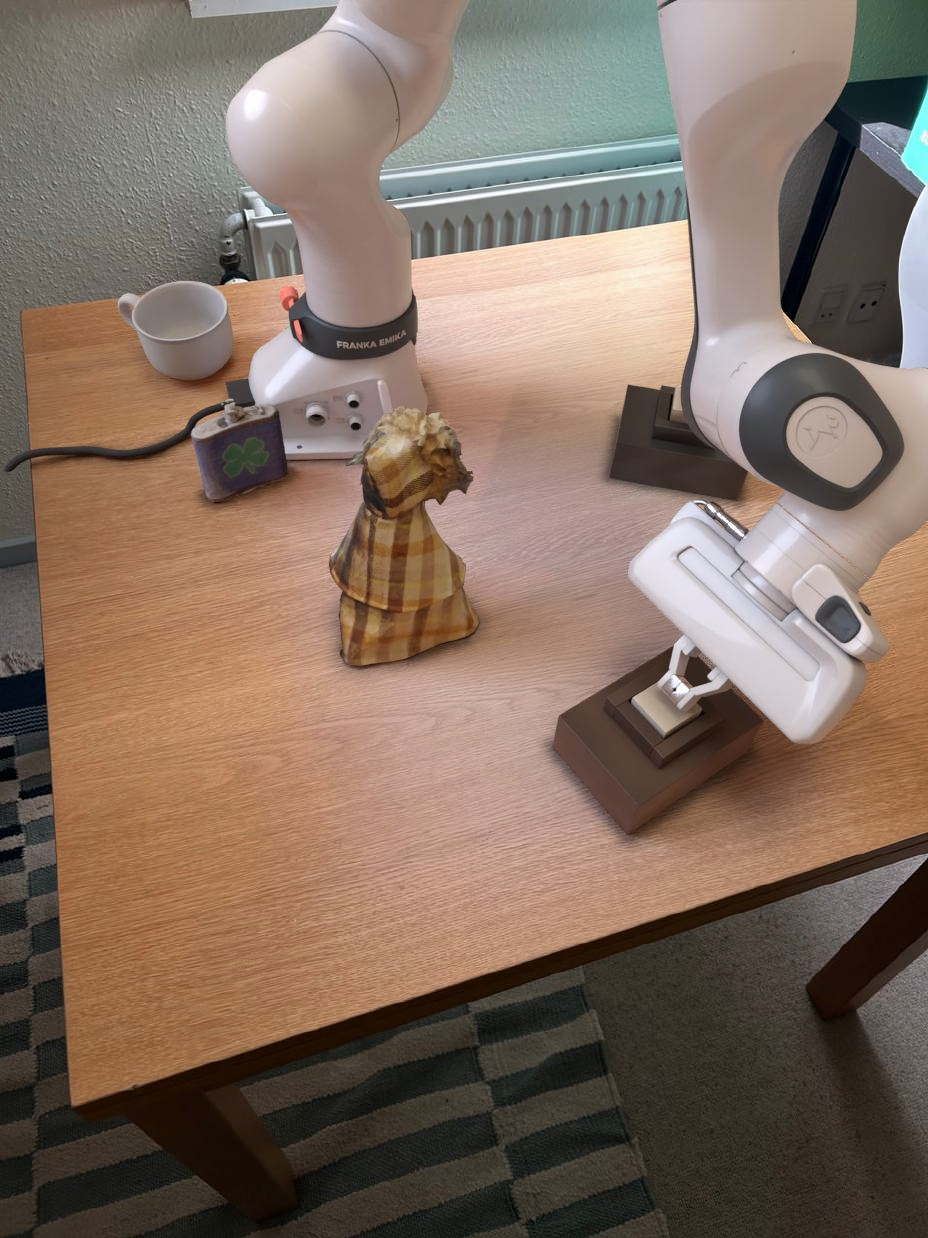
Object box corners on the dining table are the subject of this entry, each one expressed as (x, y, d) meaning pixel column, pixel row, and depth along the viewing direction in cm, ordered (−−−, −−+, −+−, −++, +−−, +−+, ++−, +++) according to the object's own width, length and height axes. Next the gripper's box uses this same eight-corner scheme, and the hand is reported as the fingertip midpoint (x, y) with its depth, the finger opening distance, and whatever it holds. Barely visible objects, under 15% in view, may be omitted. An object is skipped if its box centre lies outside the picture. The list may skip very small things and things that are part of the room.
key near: (661, 744, 74) (665, 732, 72) (628, 708, 76) (632, 697, 74) (697, 720, 75) (702, 708, 74) (664, 686, 77) (668, 674, 76)
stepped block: (608, 478, 101) (619, 428, 95) (620, 420, 107) (630, 370, 101) (737, 501, 99) (755, 452, 94) (741, 441, 105) (758, 392, 100)
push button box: (627, 835, 75) (642, 796, 69) (551, 746, 80) (560, 703, 74) (747, 751, 80) (771, 709, 75) (669, 673, 85) (686, 627, 80)
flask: (211, 506, 96) (191, 427, 88) (201, 489, 98) (180, 409, 89) (292, 477, 99) (280, 397, 91) (281, 461, 101) (268, 381, 92)
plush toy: (304, 560, 91) (299, 395, 69) (433, 528, 94) (468, 361, 72) (347, 685, 86) (356, 551, 63) (482, 646, 89) (535, 506, 67)
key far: (669, 422, 97) (672, 408, 95) (672, 398, 99) (676, 385, 98) (707, 428, 96) (711, 415, 95) (709, 404, 99) (713, 391, 97)
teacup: (257, 358, 112) (247, 300, 105) (196, 405, 106) (181, 347, 100) (172, 319, 116) (157, 261, 110) (109, 363, 110) (89, 304, 104)
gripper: (685, 477, 72) (572, 607, 76) (891, 656, 62) (748, 794, 66) (713, 496, 77) (605, 617, 81) (907, 664, 67) (773, 792, 71)
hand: (670, 698), depth 74 cm, fingers closed, pressing on key near
